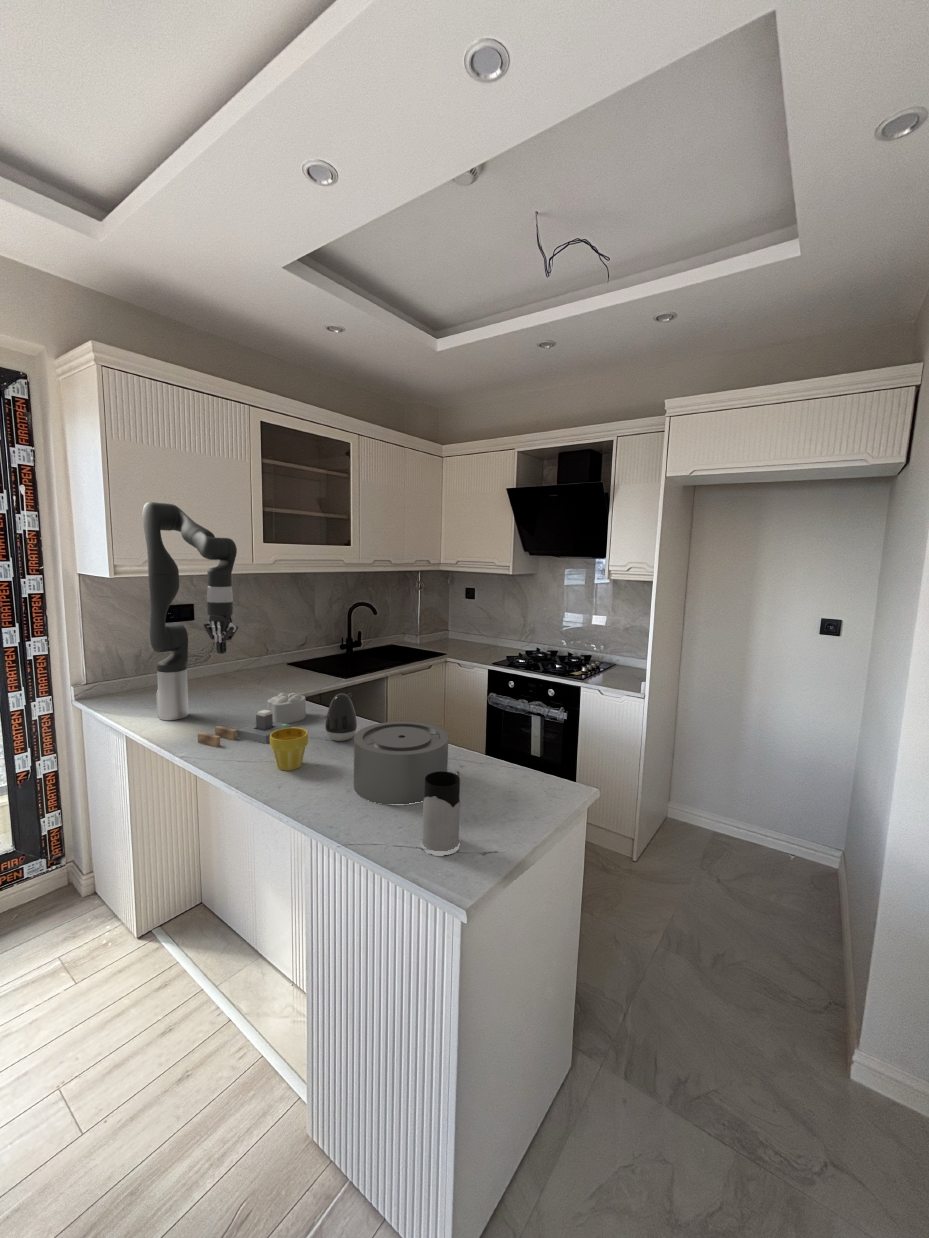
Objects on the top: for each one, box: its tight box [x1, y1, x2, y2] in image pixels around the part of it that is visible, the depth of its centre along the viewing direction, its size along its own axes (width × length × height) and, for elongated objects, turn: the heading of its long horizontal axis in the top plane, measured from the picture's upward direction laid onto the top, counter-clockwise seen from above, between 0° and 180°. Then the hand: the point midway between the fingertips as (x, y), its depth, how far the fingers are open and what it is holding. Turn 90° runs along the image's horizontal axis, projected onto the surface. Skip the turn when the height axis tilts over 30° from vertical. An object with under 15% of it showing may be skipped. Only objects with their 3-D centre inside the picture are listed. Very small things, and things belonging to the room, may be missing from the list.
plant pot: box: [269, 726, 309, 771], centre depth 150 cm, size 10×10×10 cm
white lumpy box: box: [266, 692, 307, 724], centre depth 191 cm, size 10×13×9 cm
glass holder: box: [421, 769, 461, 851], centre depth 114 cm, size 9×14×15 cm, turn 159°
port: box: [236, 721, 293, 744], centre depth 174 cm, size 12×12×3 cm
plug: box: [255, 709, 273, 731], centre depth 173 cm, size 4×4×8 cm
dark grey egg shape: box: [324, 692, 358, 742], centre depth 172 cm, size 10×10×15 cm
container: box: [353, 720, 449, 805], centre depth 141 cm, size 25×25×13 cm
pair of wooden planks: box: [197, 725, 238, 748], centre depth 167 cm, size 8×8×3 cm
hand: (221, 653), depth 171 cm, fingers closed
